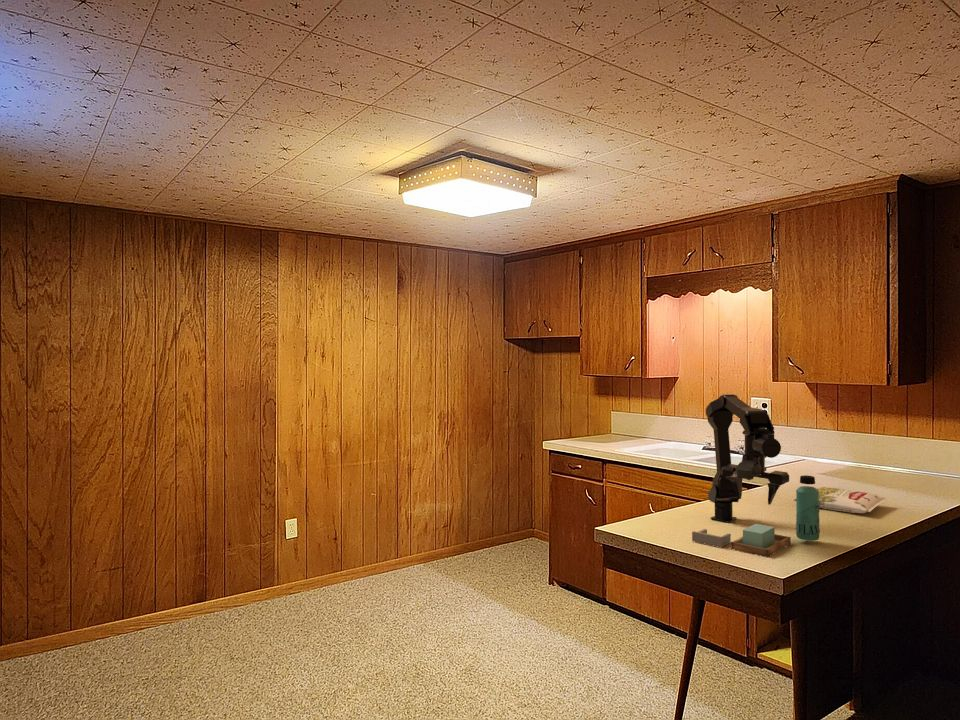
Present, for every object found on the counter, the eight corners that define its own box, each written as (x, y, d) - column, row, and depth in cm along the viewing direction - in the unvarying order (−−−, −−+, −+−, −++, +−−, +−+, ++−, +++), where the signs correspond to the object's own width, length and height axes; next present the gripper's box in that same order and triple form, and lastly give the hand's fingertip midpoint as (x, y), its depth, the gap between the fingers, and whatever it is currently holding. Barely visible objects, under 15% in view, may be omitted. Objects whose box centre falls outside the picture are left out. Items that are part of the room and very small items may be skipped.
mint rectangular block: (757, 539, 197) (757, 522, 197) (776, 542, 193) (776, 526, 193) (743, 547, 190) (742, 529, 190) (761, 551, 186) (761, 533, 186)
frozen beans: (813, 481, 252) (887, 490, 234) (813, 496, 252) (887, 506, 234) (792, 492, 237) (869, 503, 219) (792, 508, 237) (870, 520, 219)
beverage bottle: (794, 543, 194) (794, 477, 194) (797, 538, 200) (796, 473, 199) (819, 547, 191) (818, 479, 190) (821, 541, 196) (820, 474, 196)
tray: (755, 536, 202) (755, 530, 202) (790, 543, 194) (790, 537, 194) (730, 549, 190) (730, 542, 190) (767, 557, 183) (767, 550, 183)
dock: (703, 536, 203) (703, 527, 203) (732, 542, 196) (731, 532, 196) (692, 541, 198) (692, 531, 198) (721, 547, 192) (721, 537, 192)
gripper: (713, 451, 200) (712, 501, 201) (774, 459, 187) (774, 513, 188) (729, 446, 208) (729, 494, 209) (790, 453, 194) (789, 505, 195)
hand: (754, 501), depth 200 cm, fingers open, 9 cm apart
